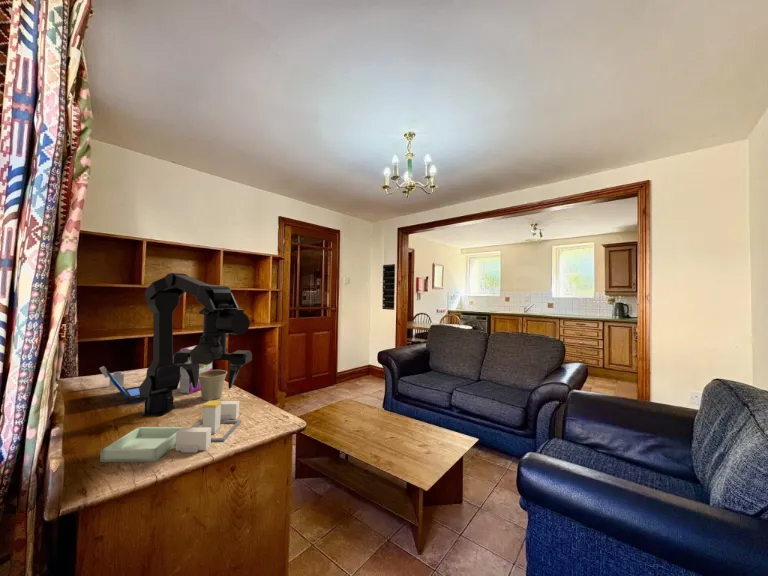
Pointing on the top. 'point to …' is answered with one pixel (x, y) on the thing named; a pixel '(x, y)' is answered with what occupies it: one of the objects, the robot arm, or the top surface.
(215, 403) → the yellow-capped grey block
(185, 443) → the headphones
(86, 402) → the top surface
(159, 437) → the tray
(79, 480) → the top surface
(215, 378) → the flower pot
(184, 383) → the candy bar box
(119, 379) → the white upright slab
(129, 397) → the handheld game console
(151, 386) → the robot arm
